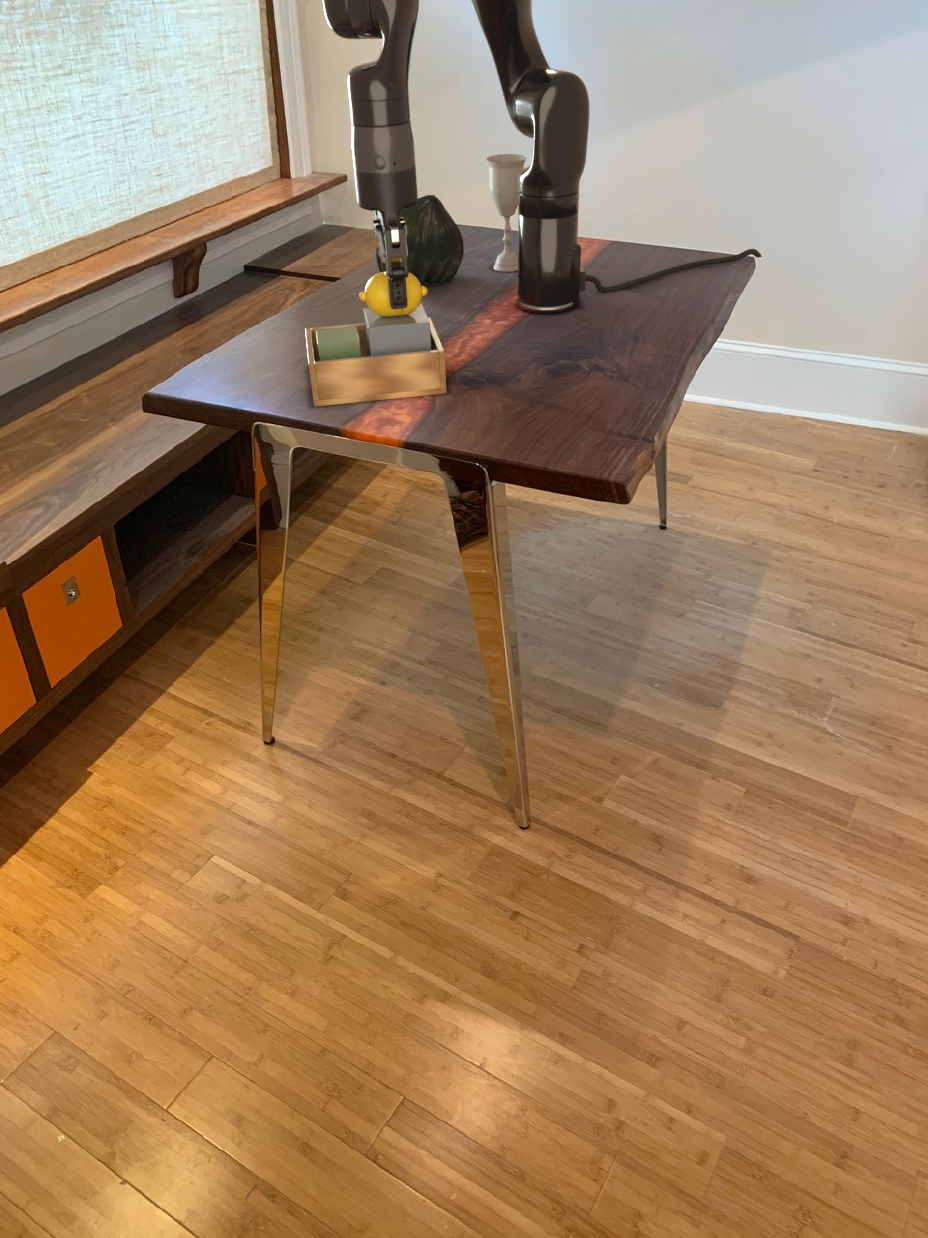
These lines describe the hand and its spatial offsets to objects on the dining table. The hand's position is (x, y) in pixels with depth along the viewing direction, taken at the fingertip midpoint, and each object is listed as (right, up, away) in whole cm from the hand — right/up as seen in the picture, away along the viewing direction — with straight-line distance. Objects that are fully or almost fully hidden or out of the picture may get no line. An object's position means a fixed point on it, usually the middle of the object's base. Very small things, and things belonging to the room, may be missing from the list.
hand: (395, 297), depth 125 cm
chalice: (+17, +21, +47) cm, 54 cm away
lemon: (0, -2, +1) cm, 2 cm away
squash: (+2, +17, +42) cm, 45 cm away
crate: (-3, -9, +6) cm, 12 cm away
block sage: (-8, -10, +6) cm, 14 cm away
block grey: (0, -9, +7) cm, 11 cm away
